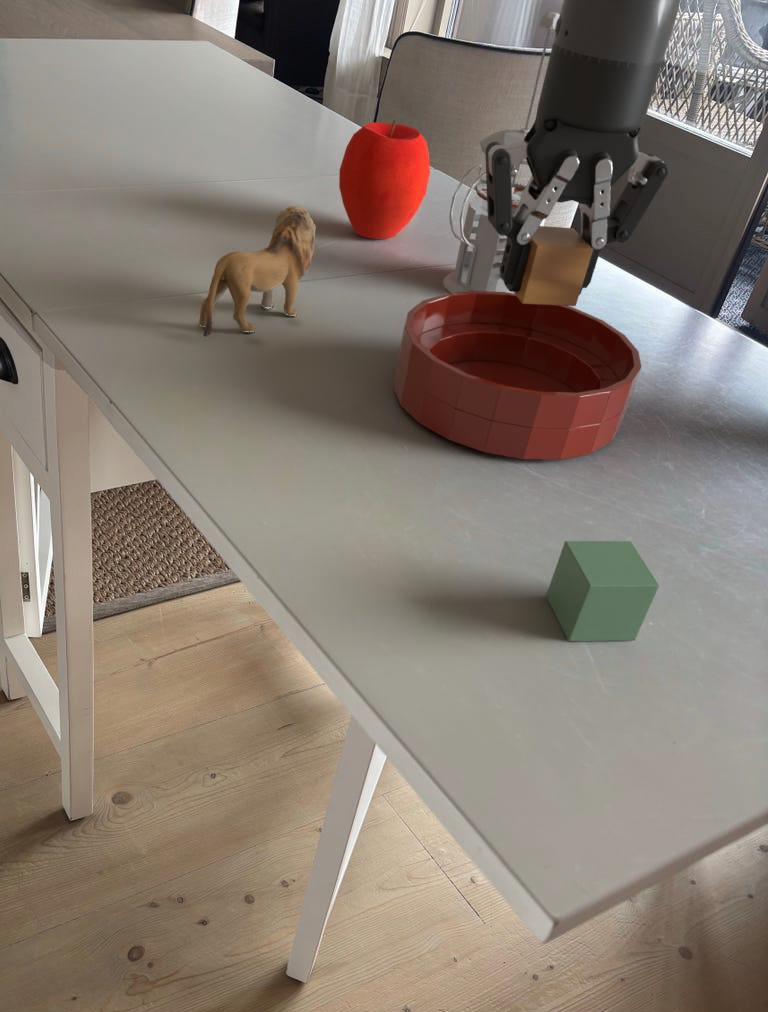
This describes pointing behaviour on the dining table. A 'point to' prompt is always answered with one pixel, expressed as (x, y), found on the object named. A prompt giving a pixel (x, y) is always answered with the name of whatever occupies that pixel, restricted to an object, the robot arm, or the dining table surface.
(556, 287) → the block
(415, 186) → the apple
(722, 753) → the dining table surface
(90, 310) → the dining table surface
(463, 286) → the french press
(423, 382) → the red shallow bowl
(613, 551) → the block
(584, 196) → the robot arm
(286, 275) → the lion figurine
